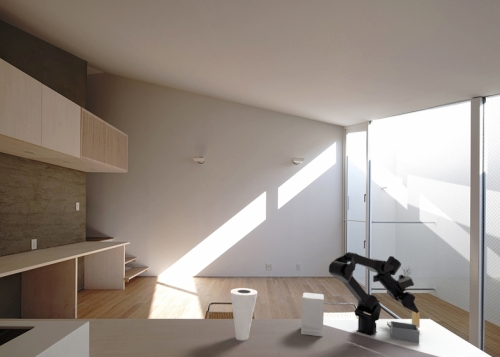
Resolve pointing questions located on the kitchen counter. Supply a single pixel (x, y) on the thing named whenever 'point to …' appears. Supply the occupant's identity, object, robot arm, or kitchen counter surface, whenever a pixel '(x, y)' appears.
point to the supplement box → (312, 314)
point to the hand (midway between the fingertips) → (413, 309)
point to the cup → (243, 310)
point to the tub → (404, 332)
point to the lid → (414, 319)
